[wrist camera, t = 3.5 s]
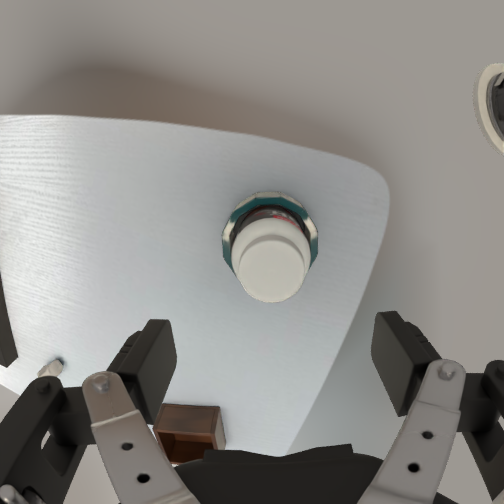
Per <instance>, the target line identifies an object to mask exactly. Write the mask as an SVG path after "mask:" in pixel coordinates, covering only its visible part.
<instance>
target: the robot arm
mask: <svg viewBox="0 0 504 504" xmlns="http://www.w3.org/2000/svg"><path fill="white" fill-rule="evenodd" d="M486 103H487V110H488V114H489V118H490V120H491V123H492V125H493V127H494V129H495V131H496V133H497V134H498V136H499V137H500V138H501V140H502V141H503V142H504V72H502V73H498V74H496V75H494V76H493V77H492V78H491V80H490V81H489V84H488V87H487V92H486ZM371 356H372V360H373V363H374V365H375V367H376V369H377V371H378V373H379V376H380V378H381V380H382V382H383V384H384V386H385V389H386V391H387V393H388V395H389V397H390V400H391V402H392V404H393V406H394V409H395V411H396V413H397V415H398V417H401V416H405V415H407V416H406V418H405V420H404V422H403V425H402V427H401V429H400V431H399V433H398V435H397V437H396V439H395V441H394V443H393V445H392V447H391V449H390V450H389V452H388V454H387V456H386V458H385V460H382V459H379V458H376V457H373V456H369V455H365V454H358V453H353V449H352V445H351V444H344V445H336V446H326V447H316V448H312V449H309V450H305V451H302V452H298V453H294V454H290V455H286V456H282V457H274V456H268V455H262V454H257V453H252V452H247V451H242V450H215V449H205V451H204V457H203V459H198V460H193V461H189V462H186V463H183V464H180V465H178V466H176V467H174V468H173V467H172V465H171V463H170V462H169V460H168V459H167V457H166V455H165V454H164V452H163V451H162V449H161V447H160V446H159V444H158V442H157V441H156V439H155V437H154V436H153V434H152V432H151V431H150V429H149V427H148V425H147V424H150V425H154V423H155V421H156V418H157V415H158V413H159V410H160V407H161V405H162V402H163V399H164V397H165V394H166V391H167V389H168V386H169V384H170V381H171V378H172V376H173V373H174V371H175V368H176V363H177V354H176V349H175V344H174V338H173V333H172V328H171V323H170V321H169V320H164V319H150V320H149V321H148V323H147V324H146V326H145V327H144V329H143V330H142V331H137V332H136V333H134V334H133V335H131V336H130V337H128V339H127V340H126V342H125V343H124V345H123V346H122V348H121V349H120V351H119V353H118V354H117V355H116V357H115V358H114V360H113V361H112V363H111V364H110V366H109V367H108V369H107V370H106V371H103V372H97V373H95V374H92V375H90V376H89V377H88V378H86V379H85V380H84V382H83V384H82V386H81V387H68V388H63V386H62V383H61V381H60V379H59V378H57V377H55V376H50V375H49V376H42V377H39V378H37V379H35V380H33V381H32V382H31V383H30V384H29V385H28V387H27V388H26V389H25V391H24V392H23V393H22V394H21V396H20V397H19V398H18V400H17V401H16V402H15V404H14V405H13V407H12V408H11V409H10V411H9V412H8V414H7V415H6V416H5V417H4V419H3V421H2V422H1V423H0V504H63V501H64V499H65V496H66V494H67V492H68V489H69V487H70V484H71V482H72V480H73V477H74V475H75V472H76V470H77V468H78V466H79V463H80V461H81V459H82V456H83V454H84V452H85V449H86V447H87V445H90V444H97V447H98V450H99V452H100V455H101V458H102V460H103V463H104V466H105V468H106V470H107V473H108V475H109V478H110V480H111V482H112V485H113V487H114V490H115V492H116V494H117V496H118V499H119V501H120V503H119V504H458V503H456V502H454V501H452V500H451V499H449V498H447V497H445V496H443V495H442V494H440V493H438V492H437V489H438V486H439V484H440V481H441V479H442V476H443V473H444V470H445V467H446V464H447V461H448V458H449V455H450V451H451V449H452V445H453V441H454V438H455V435H456V432H462V434H463V436H464V438H465V440H466V442H467V444H468V446H469V449H470V451H471V453H472V455H473V457H474V459H475V462H476V464H477V466H478V468H479V470H480V473H481V475H482V477H483V480H484V482H485V484H486V487H487V489H488V492H489V494H490V496H491V499H492V504H504V430H503V428H502V427H501V425H500V423H499V422H498V419H499V417H500V416H502V417H503V419H504V361H502V360H495V361H491V362H490V363H488V364H487V366H486V369H485V371H484V373H466V371H465V369H464V368H463V366H461V365H460V364H459V363H457V362H455V361H452V360H448V359H442V358H441V357H440V355H439V354H438V353H437V352H436V350H435V349H434V347H433V346H432V345H431V343H430V342H428V340H427V338H426V337H425V336H424V335H423V333H422V332H421V331H420V329H419V328H418V327H416V326H415V325H413V324H411V323H410V322H404V320H403V319H402V318H401V316H400V315H399V314H398V313H397V311H387V312H378V313H377V314H376V318H375V324H374V332H373V339H372V345H371ZM47 431H49V433H50V436H49V438H48V440H47V442H46V444H45V445H44V447H43V449H42V450H41V442H42V439H43V437H44V436H45V434H46V432H47Z"/></svg>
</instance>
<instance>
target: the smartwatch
mask: <svg viewBox="0 0 504 504" xmlns="http://www.w3.org/2000/svg"><path fill="white" fill-rule="evenodd" d="M62 368H63V365H62V364H61V363H60V362H59V361H58V360H57V359H56V360H54V361H53V362H52V363H51V364H49V365H47V366H46V365H45V366H43V368H42V369H41V370H40V371H39V372H38V373H37V375H38V378H39V377H42V376H49V375H50V376H55V377H57V376H58V375H59V374H60V373H61V372H62Z"/></svg>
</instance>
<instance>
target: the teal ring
mask: <svg viewBox="0 0 504 504" xmlns="http://www.w3.org/2000/svg"><path fill="white" fill-rule="evenodd" d="M274 204H280V205H282V206H284V207H286V208H288V209H290V210H291V211H293V212H295V213H297V214H299V215H300V217H301V219H302V220H303V222H304V223H305V237H306V239H307V241H308V244H309V247H310V255H311V259H310V266H309V269H310V267H311V265H312V264H313V262H314V260H315V259H316V257H317V254H318V231H317V228H316V227H315V225H314V223H313V222H312V220H311V218H310V217H309V215H308V213H307V212H306V210H305V209H304V207H303V206H302V205H301V203H299V202H298V201H296V200H295V199H293V198H291V197H289V196H287V195H285V194H283V193H281V192H280V193H279V192H257V194H256V193H255V194H253V195H251V196H250V197H248V198H247V199H245V200H244V201H242V202H241V203H239V204H238V205H237V206H236V207H235V209H234V211H233V212H232V214H231V216H230V218H229V220H228V222H227V224H226V226H225V228H224V230H223V232H222V245H223V257H224V260H225V261H226V263H227V264H228V265H229V267H230V268H231V270H232V271H233V273H234V274H235V272H234V269H233V266H232V260H231V254H232V247H233V244H234V242H235V238H234V226H235V224H236V222H237V220H238V218H239V217H240V216H241V215H243V214H244V213H246V212H248V211H249V210H251V209H252V208H254V207H255V206H257V205H274ZM309 269H308V270H309ZM235 275H236V274H235ZM236 277H237V276H236Z"/></svg>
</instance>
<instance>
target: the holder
mask: <svg viewBox="0 0 504 504" xmlns="http://www.w3.org/2000/svg"><path fill="white" fill-rule="evenodd" d="M152 429H153V432H154V434H155V437H156V439H157V442H158V444H159V446H160V447H161V449H162V451H163V452H164V454H165V455H166V457H167V459H168V460H169V462H170V463H171V464H177V465H180V464H183V463H186V462H189V461H193V460H198V459H203V457H204V451H205V449H215V450H225V445H226V441H225V435H224V430H223V424H222V418H221V412H220V407H208V406H189V405H174V404H162V405H161V408H160V410H159V413H158V415H157V418H156V421H155V423H154V426H153V428H152Z"/></svg>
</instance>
